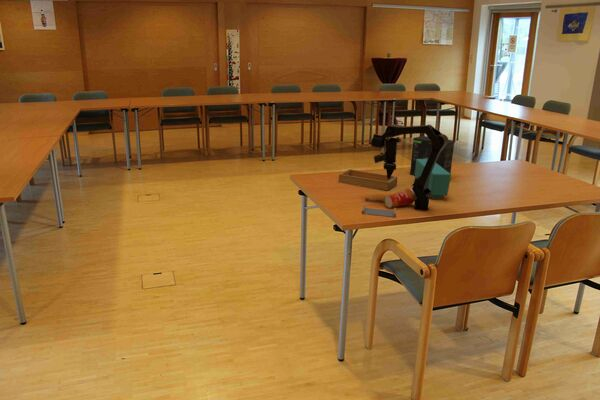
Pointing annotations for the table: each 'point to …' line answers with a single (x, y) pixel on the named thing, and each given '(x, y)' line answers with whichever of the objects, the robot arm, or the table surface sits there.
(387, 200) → the coffee cup
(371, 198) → the strip
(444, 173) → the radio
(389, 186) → the tray
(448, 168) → the headset box
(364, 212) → the mat
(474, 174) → the table surface
